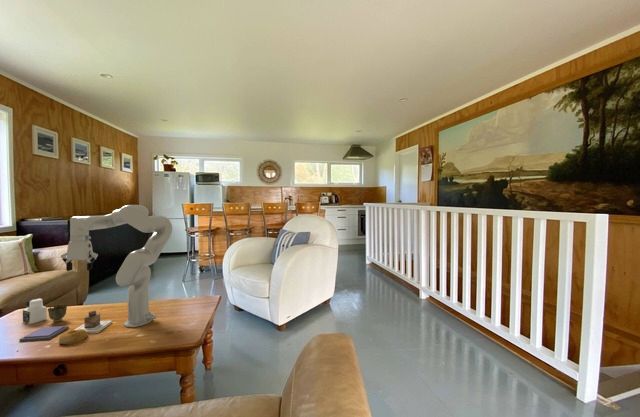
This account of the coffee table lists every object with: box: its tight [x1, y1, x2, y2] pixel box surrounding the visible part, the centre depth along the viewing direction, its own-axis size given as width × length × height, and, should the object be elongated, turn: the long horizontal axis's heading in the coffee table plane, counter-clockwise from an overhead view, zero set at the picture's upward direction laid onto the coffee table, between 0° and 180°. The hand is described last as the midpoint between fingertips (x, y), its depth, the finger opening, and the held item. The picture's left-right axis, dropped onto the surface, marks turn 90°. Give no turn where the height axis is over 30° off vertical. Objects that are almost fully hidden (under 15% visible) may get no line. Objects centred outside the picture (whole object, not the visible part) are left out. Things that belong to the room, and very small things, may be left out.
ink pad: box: [19, 325, 69, 343], centre depth 131 cm, size 12×12×2 cm
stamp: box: [83, 310, 101, 328], centre depth 138 cm, size 4×4×8 cm
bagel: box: [58, 329, 89, 345], centre depth 126 cm, size 10×11×5 cm
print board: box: [74, 319, 113, 335], centre depth 138 cm, size 12×12×1 cm
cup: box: [47, 304, 68, 324], centre depth 146 cm, size 8×7×8 cm
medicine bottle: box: [22, 297, 48, 325], centre depth 146 cm, size 7×7×12 cm
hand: (79, 270), depth 145 cm, fingers open, 9 cm apart
